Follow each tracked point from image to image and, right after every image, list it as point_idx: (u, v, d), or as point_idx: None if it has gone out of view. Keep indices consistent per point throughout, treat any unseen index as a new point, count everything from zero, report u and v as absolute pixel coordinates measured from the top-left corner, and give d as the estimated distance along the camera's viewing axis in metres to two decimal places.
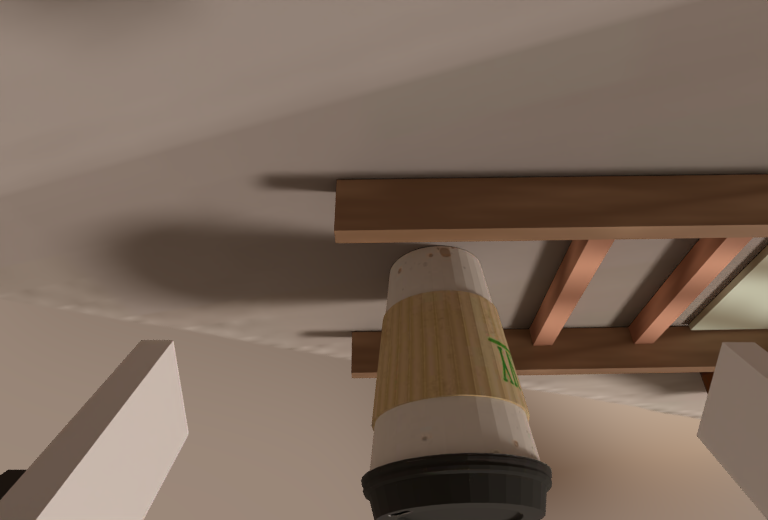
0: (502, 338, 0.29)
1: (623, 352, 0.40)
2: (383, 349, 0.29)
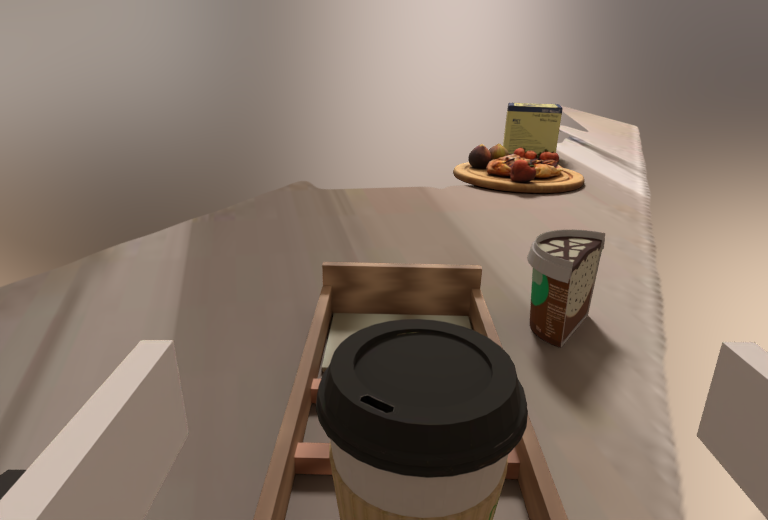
0: None
1: None
2: None
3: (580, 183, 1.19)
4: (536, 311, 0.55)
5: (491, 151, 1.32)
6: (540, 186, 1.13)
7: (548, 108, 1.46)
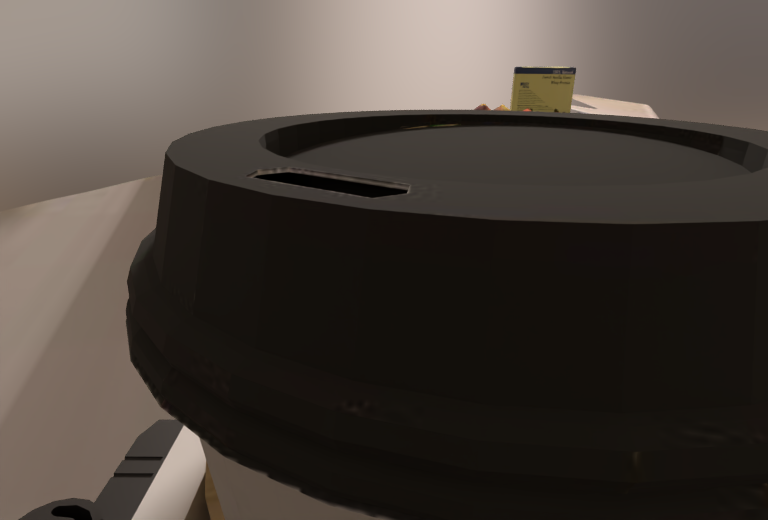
0: None
1: None
2: None
3: None
4: None
5: None
6: None
7: (560, 69, 1.31)
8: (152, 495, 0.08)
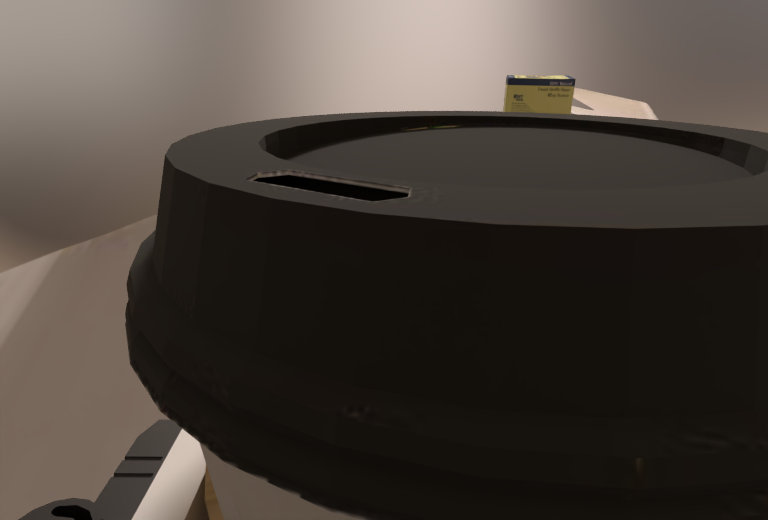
0: None
1: None
2: None
3: None
4: None
5: None
6: None
7: (558, 80, 1.17)
8: (152, 495, 0.08)
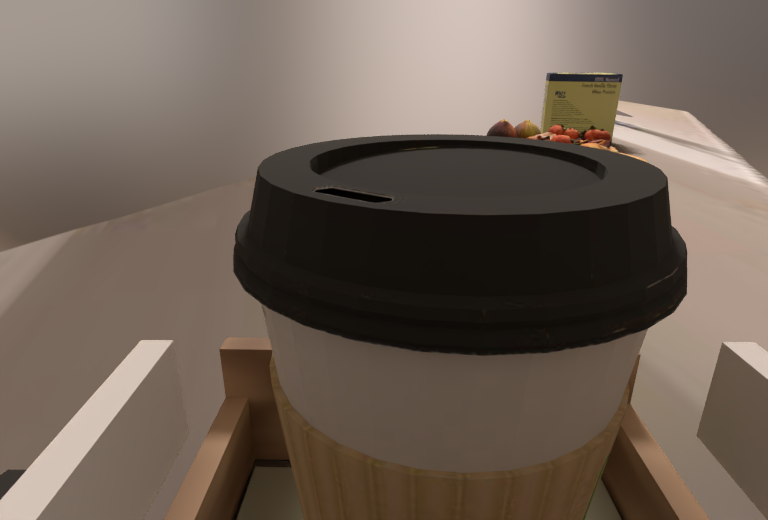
0: None
1: None
2: None
3: None
4: None
5: (517, 130, 0.98)
6: None
7: (603, 76, 1.10)
8: None
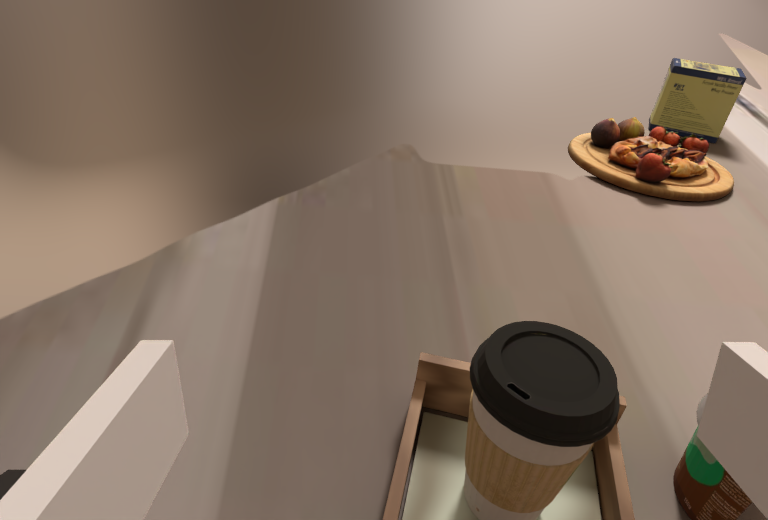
0: None
1: None
2: (498, 485, 0.35)
3: (726, 192, 0.95)
4: (691, 484, 0.41)
5: (622, 126, 1.09)
6: (671, 191, 0.92)
7: (726, 76, 1.14)
8: None
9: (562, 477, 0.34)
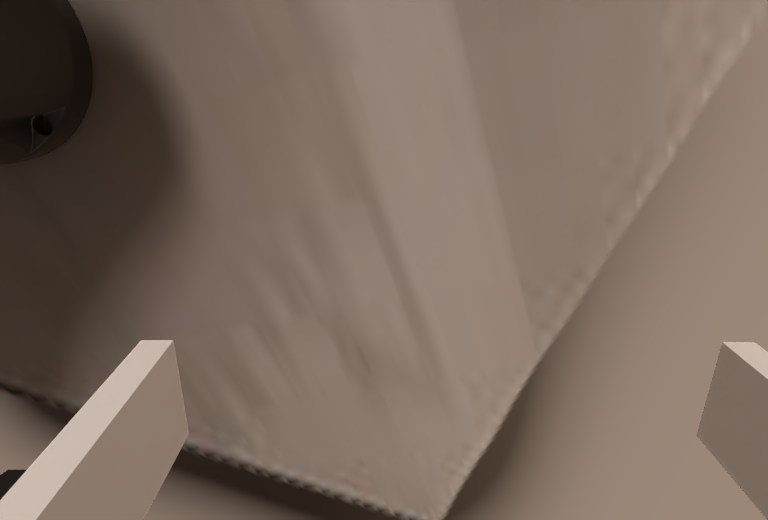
0: None
1: None
2: None
3: None
4: None
5: None
6: None
7: None
8: None
9: None
